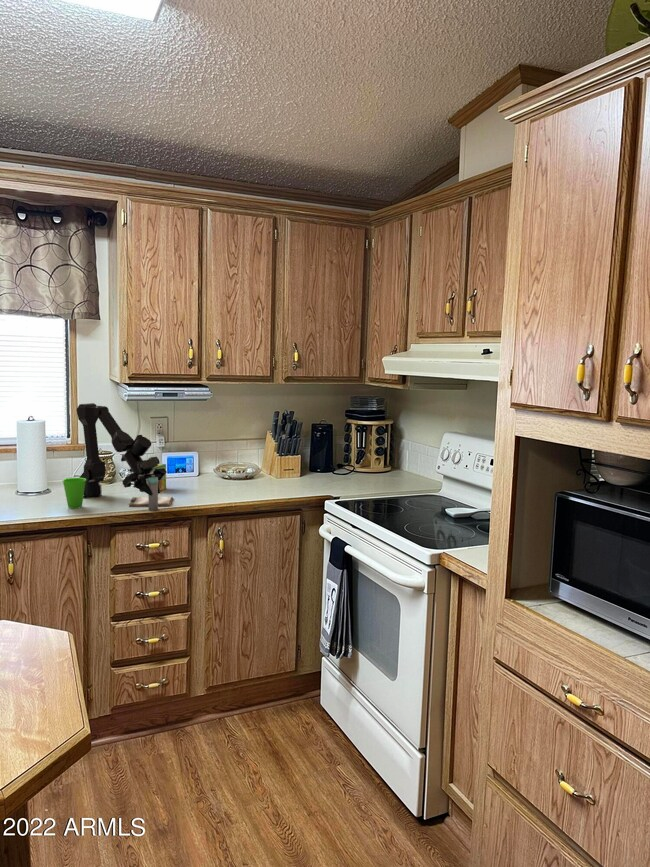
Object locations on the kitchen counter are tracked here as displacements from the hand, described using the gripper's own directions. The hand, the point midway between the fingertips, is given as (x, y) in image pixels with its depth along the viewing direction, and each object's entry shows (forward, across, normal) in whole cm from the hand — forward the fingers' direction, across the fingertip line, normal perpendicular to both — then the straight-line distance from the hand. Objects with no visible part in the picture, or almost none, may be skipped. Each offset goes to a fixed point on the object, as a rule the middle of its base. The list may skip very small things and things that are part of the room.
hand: (155, 494), depth 259 cm
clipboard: (-3, +8, +12) cm, 15 cm away
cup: (-16, -16, +25) cm, 33 cm away
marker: (+4, 0, +6) cm, 7 cm away
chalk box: (-15, +24, +25) cm, 38 cm away
